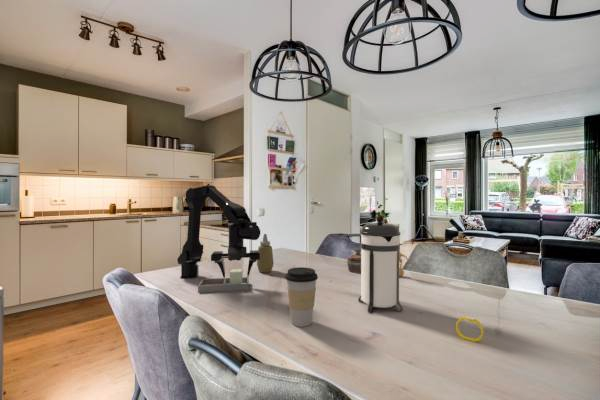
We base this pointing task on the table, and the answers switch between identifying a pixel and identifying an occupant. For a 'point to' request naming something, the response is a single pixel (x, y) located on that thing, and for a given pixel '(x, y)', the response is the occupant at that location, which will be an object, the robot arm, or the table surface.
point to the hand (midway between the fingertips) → (236, 277)
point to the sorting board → (222, 285)
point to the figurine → (401, 264)
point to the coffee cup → (301, 294)
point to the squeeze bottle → (265, 256)
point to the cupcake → (354, 261)
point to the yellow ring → (471, 319)
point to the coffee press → (380, 265)
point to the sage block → (236, 276)
